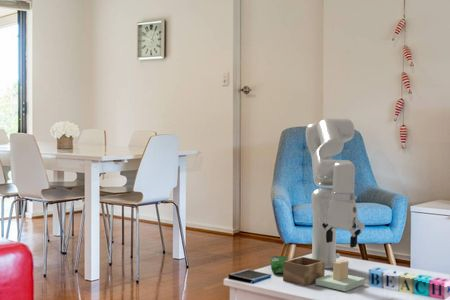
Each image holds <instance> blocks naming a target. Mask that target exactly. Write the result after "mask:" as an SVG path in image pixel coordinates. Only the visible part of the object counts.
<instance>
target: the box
mask: <svg viewBox="0 0 450 300" xmlns="http://www.w3.org/2000/svg"><path fill="white" fill-rule="evenodd" d="M325 270H326V268H325V261H321V260H316V259H312V257H310V258H309V257H305V256H300V257H296V258H293V259H288V261H284V262H283V273H282V281H283V282H287V283H291V284H295V285H300V286H304V287H308V286H311V285H315V284H316V279H317V278H320V277H323V276H325V272H326V271H325Z"/></svg>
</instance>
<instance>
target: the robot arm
mask: <svg viewBox="0 0 450 300" xmlns="http://www.w3.org/2000/svg"><path fill="white" fill-rule="evenodd" d="M355 131H356V129H355V125H354V123H353V122H352V120H351V119H349V118H325V119H322V120H320V122H313V123H310V124H308V125H306V128H305V141H306V145H307V146H306V147H307V149H308V151H309V154H310V156H311V163H312V164H311V166H312V167H311V168H312V177H313V182H314V184H315V186H317V187H319V188H317V189H314V191H312V193H311V196H310V197H311V198H310V199H311V200H310V201H311V209H312V239H311V241H312V242H311V243H312V246H311V248H312V249H311V259H316V260H321V261H325V270H326V269H329V270H330V269H333V263H334V262H337V259H339V258H340V257H341V254H340V253H337V252H336V251H337V229H339V230H344V231H349V233H350V234H351V236H350V238H349V239H350V241H349V247H350V248H356V247H357V244H358V236H359V235H360V234H361V233H362V232H363V230H364V228H365V227H366V226H365V225H366V224H364V223H363V222H361V221H360V220H358V215H359V214H358V206H357V203H356V200H357V199H358V195H355V176H356V173H355V172H356V166H355V164H354V163H353V162H352V161H351V160H350V159H349V160H348V159H333V157H335V156H337V155H339V154H340V153H341V152H342V151H343V150H344V147H345V146H344V145H345V143H347V142H350V141H351V140H353V138H354V136H355Z"/></svg>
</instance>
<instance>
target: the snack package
mask: <svg viewBox="0 0 450 300" xmlns="http://www.w3.org/2000/svg"><path fill="white" fill-rule="evenodd" d="M288 260H289V258H288V257H287V256H285V255H274V256H272V257H271V258H270V269H271V271H272V272H273V274H283V262H284V261H288Z"/></svg>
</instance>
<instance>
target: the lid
mask: <svg viewBox="0 0 450 300" xmlns="http://www.w3.org/2000/svg"><path fill="white" fill-rule="evenodd" d="M332 270H333V271H332V273H331V274H326V275H324V276H323V277H320V278H317V279H316V283H315V285H317V286H320V287H323V288H329V289H334V290H338V291H342V292H348V291H347V290H349V291H351V290H353V289H352V288H354V289H356V288H355V287H357V288H359V287H361V286H360V285H362V286H363V285H365V283H366V277H365V278H364V277H362V276H361V277H360V276H355V275H351V274H349V261H348V260H344V259H341V260H336V262H334V263H333V268H332ZM358 286H359V287H358ZM350 289H351V290H350Z"/></svg>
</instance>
